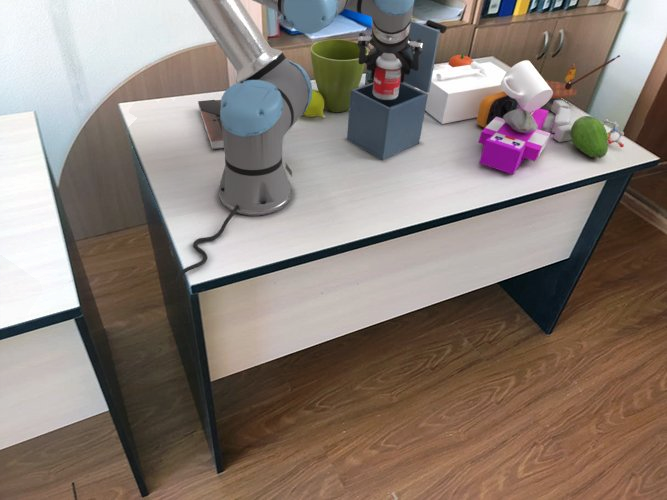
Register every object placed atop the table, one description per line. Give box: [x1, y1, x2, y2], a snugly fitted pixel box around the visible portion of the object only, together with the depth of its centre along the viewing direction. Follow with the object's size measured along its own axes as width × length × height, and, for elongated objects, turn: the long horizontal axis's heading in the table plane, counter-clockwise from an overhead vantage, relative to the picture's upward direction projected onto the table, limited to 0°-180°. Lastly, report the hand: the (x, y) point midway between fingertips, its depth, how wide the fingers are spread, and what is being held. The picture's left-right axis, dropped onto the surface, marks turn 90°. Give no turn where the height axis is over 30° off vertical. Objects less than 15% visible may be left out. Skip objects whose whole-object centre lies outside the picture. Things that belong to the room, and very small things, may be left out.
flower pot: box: [310, 38, 369, 113], centre depth 144 cm, size 15×15×16 cm
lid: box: [400, 19, 447, 93], centre depth 128 cm, size 14×13×9 cm
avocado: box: [571, 115, 609, 159], centre depth 136 cm, size 8×8×12 cm
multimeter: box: [476, 91, 520, 129], centre depth 146 cm, size 9×18×3 cm
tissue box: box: [420, 61, 507, 125], centre depth 150 cm, size 14×25×11 cm, turn 116°
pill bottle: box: [373, 53, 402, 100], centre depth 123 cm, size 6×6×11 cm
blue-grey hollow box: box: [346, 82, 428, 161], centre depth 131 cm, size 14×13×13 cm
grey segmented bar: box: [550, 98, 574, 143], centre depth 147 cm, size 20×4×7 cm
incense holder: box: [544, 54, 621, 99], centre depth 156 cm, size 21×30×11 cm
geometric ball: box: [433, 63, 452, 70], centre depth 159 cm, size 8×8×8 cm
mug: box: [501, 59, 553, 113], centre depth 137 cm, size 12×8×10 cm
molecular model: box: [602, 118, 625, 148], centre depth 141 cm, size 7×8×8 cm
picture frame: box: [197, 99, 224, 150], centre depth 137 cm, size 16×2×22 cm
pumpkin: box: [447, 53, 474, 67], centre depth 168 cm, size 8×8×7 cm
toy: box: [478, 106, 552, 175], centre depth 136 cm, size 14×6×30 cm
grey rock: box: [503, 109, 538, 133], centre depth 130 cm, size 12×8×5 cm
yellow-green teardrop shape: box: [303, 88, 327, 120], centre depth 141 cm, size 7×7×10 cm
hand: (388, 75), depth 127 cm, fingers closed on pill bottle, 6 cm apart
